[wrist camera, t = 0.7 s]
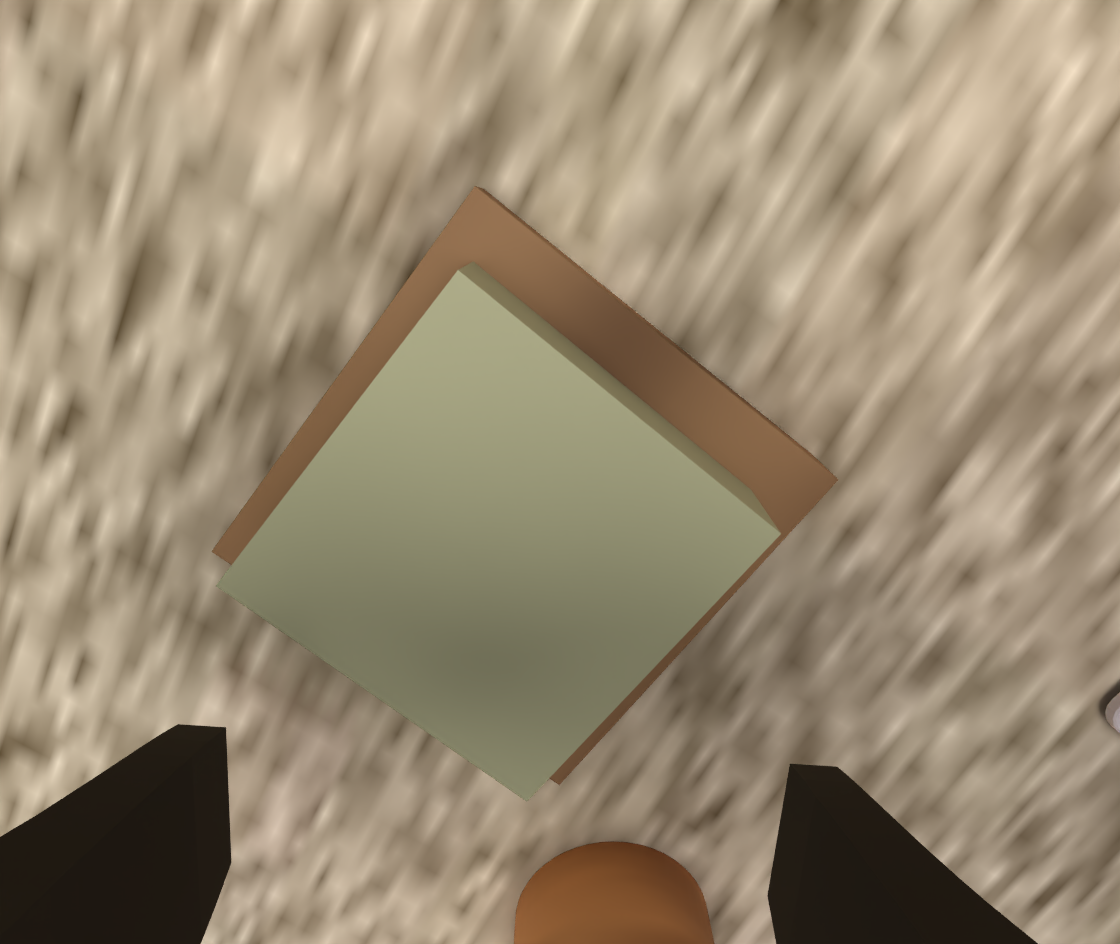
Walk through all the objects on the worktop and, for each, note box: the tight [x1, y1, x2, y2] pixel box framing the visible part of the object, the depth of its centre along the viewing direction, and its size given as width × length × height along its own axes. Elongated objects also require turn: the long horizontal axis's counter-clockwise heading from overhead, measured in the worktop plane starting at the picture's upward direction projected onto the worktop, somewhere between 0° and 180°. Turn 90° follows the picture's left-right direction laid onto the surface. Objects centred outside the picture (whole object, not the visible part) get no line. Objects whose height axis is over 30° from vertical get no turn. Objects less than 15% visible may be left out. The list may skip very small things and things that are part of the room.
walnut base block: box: [212, 186, 838, 785], centre depth 19 cm, size 9×9×2 cm
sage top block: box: [216, 262, 781, 801], centre depth 16 cm, size 7×7×2 cm
